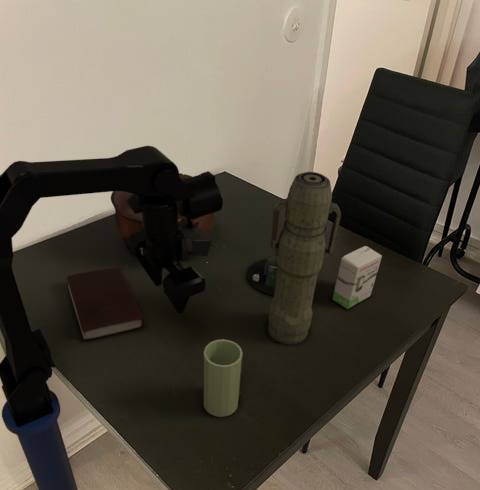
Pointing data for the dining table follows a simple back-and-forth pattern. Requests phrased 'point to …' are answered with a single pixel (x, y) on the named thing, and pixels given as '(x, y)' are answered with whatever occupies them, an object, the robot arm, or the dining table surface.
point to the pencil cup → (221, 377)
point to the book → (103, 303)
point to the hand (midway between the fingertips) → (169, 298)
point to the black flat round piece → (264, 275)
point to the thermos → (300, 254)
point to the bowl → (133, 222)
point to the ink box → (356, 276)
